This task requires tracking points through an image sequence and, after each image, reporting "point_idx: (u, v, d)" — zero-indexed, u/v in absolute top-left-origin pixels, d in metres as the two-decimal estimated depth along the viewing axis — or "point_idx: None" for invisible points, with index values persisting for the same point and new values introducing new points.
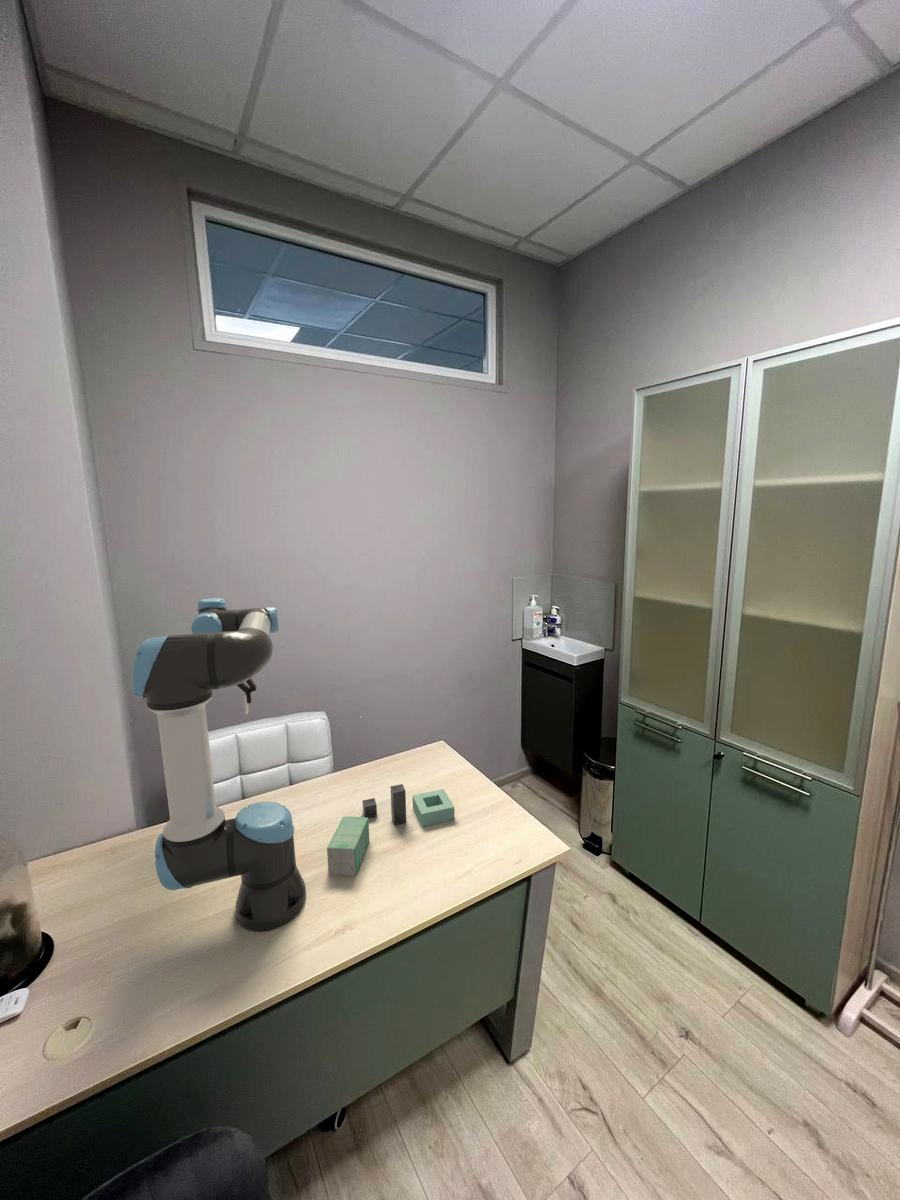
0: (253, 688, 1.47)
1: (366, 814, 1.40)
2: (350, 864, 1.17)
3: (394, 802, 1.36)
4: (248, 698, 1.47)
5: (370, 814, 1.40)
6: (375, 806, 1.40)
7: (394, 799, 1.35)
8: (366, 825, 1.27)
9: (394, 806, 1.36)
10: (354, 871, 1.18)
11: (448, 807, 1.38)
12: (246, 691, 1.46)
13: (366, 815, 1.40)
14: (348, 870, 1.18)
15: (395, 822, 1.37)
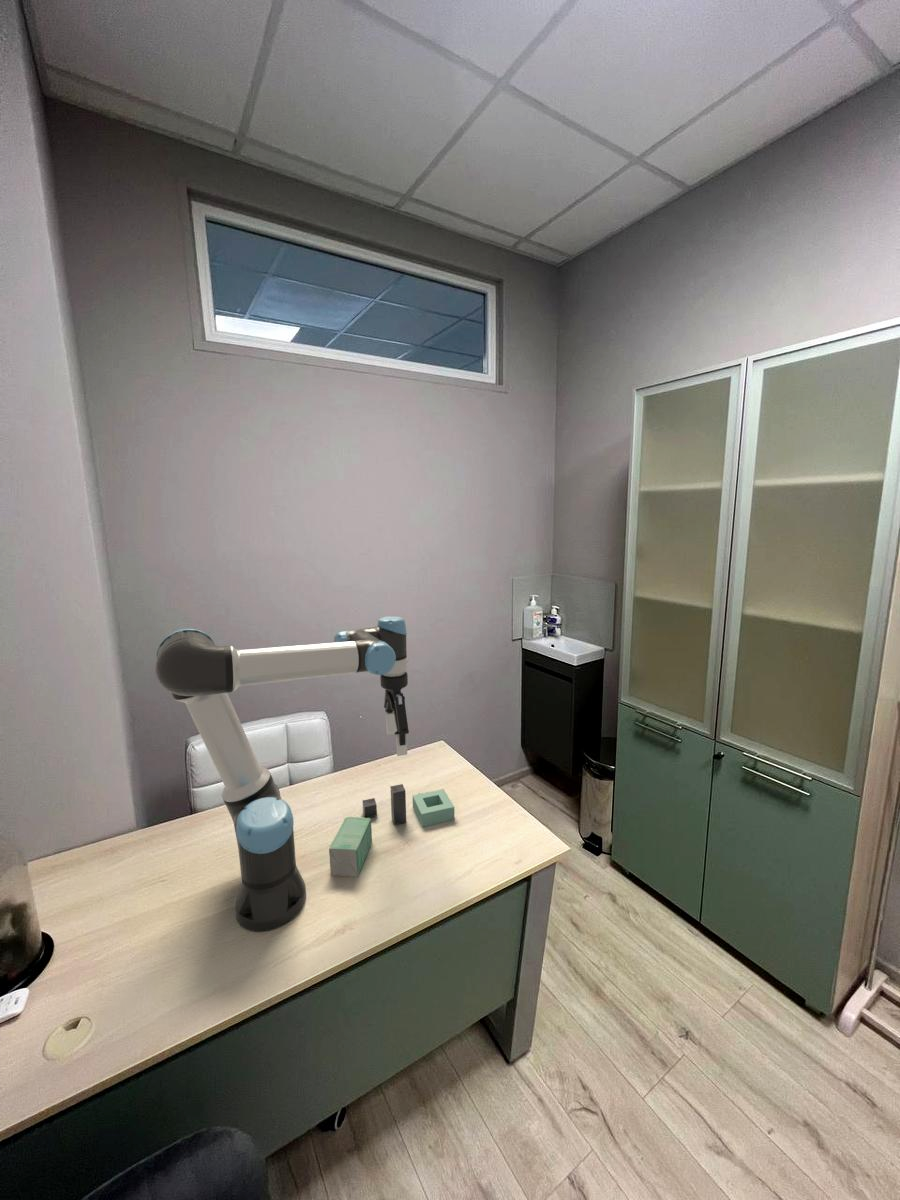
0: (398, 731, 1.24)
1: (366, 814, 1.40)
2: (352, 865, 1.17)
3: (394, 802, 1.36)
4: (399, 739, 1.27)
5: (370, 814, 1.40)
6: (375, 806, 1.40)
7: (394, 799, 1.35)
8: (369, 826, 1.27)
9: (394, 806, 1.36)
10: (356, 872, 1.17)
11: (448, 807, 1.38)
12: (397, 730, 1.26)
13: (366, 815, 1.40)
14: (350, 871, 1.17)
15: (395, 822, 1.37)
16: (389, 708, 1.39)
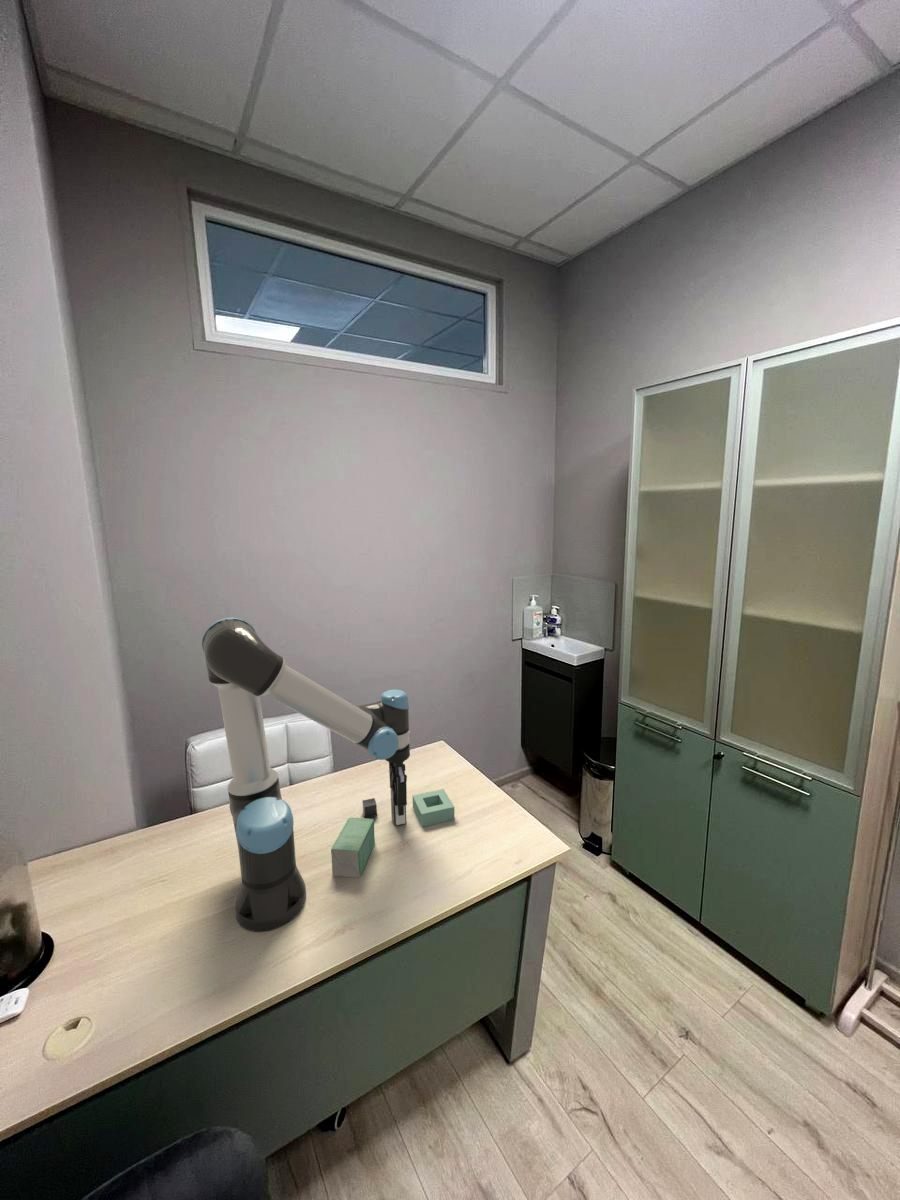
0: (397, 803, 1.32)
1: (366, 814, 1.40)
2: (354, 866, 1.17)
3: (394, 802, 1.36)
4: (398, 810, 1.35)
5: (370, 814, 1.40)
6: (375, 806, 1.40)
7: (394, 799, 1.35)
8: (371, 827, 1.26)
9: (394, 806, 1.36)
10: (358, 873, 1.17)
11: (448, 807, 1.38)
12: (396, 801, 1.34)
13: (366, 815, 1.40)
14: (351, 872, 1.17)
15: (395, 822, 1.37)
16: None
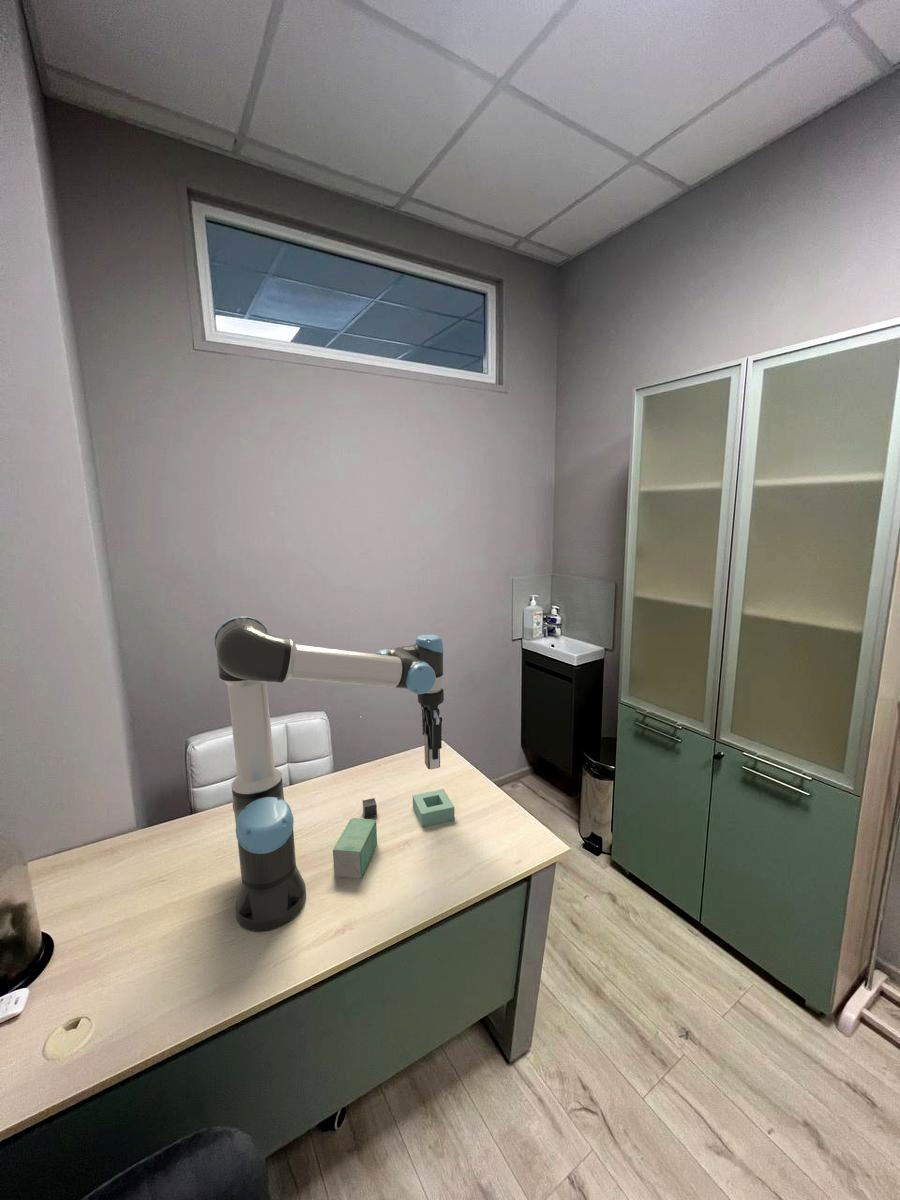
0: (432, 746, 1.33)
1: (366, 814, 1.40)
2: (355, 867, 1.16)
3: (428, 746, 1.36)
4: (432, 754, 1.36)
5: (370, 814, 1.40)
6: (375, 806, 1.40)
7: (428, 743, 1.36)
8: (373, 828, 1.26)
9: (428, 750, 1.37)
10: (359, 874, 1.17)
11: (448, 807, 1.38)
12: (430, 745, 1.35)
13: (366, 815, 1.40)
14: (353, 873, 1.17)
15: (429, 767, 1.38)
16: None
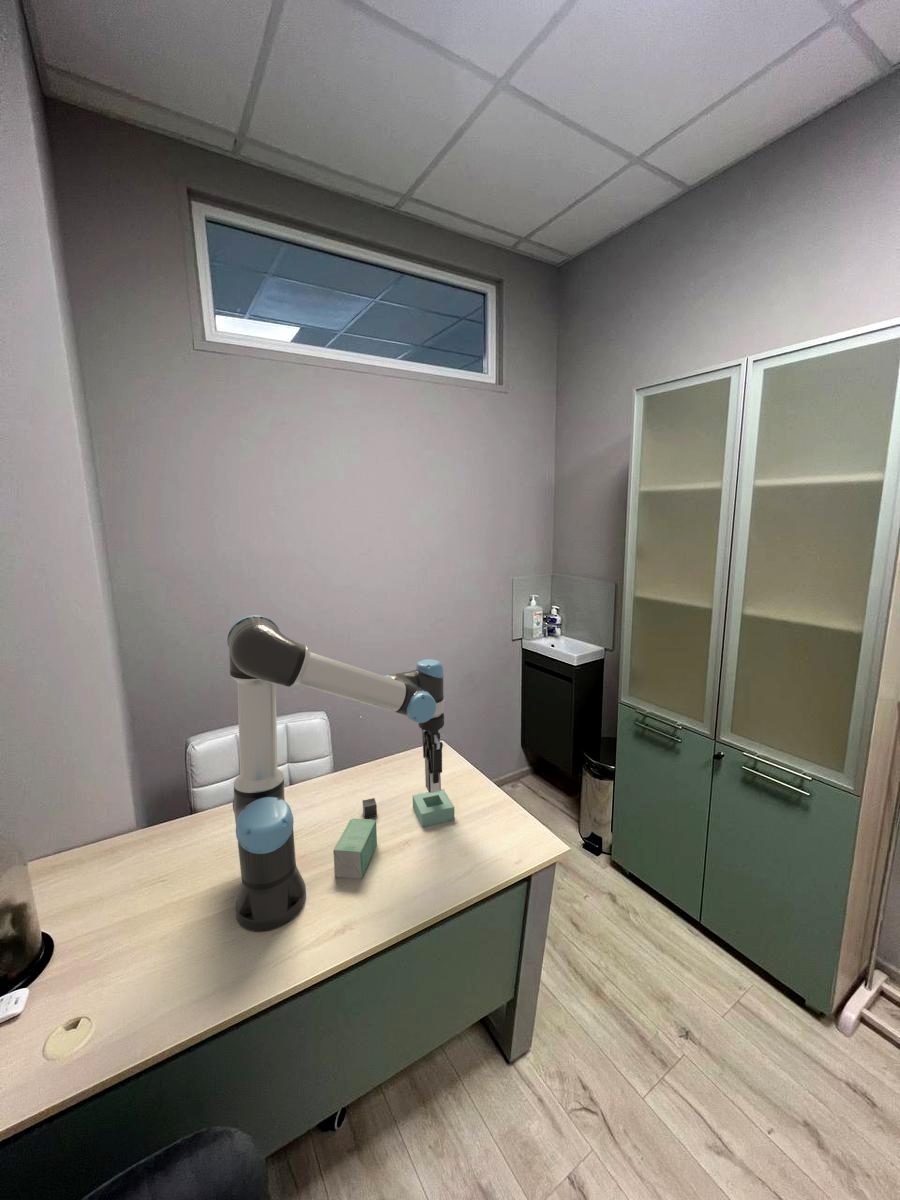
0: (433, 771, 1.35)
1: (366, 814, 1.40)
2: (356, 867, 1.16)
3: (429, 770, 1.38)
4: (433, 777, 1.37)
5: (370, 814, 1.40)
6: (375, 806, 1.40)
7: (429, 767, 1.38)
8: (373, 828, 1.26)
9: (429, 774, 1.38)
10: (360, 874, 1.16)
11: (448, 807, 1.38)
12: (431, 769, 1.37)
13: (366, 815, 1.40)
14: (354, 873, 1.17)
15: None
16: None
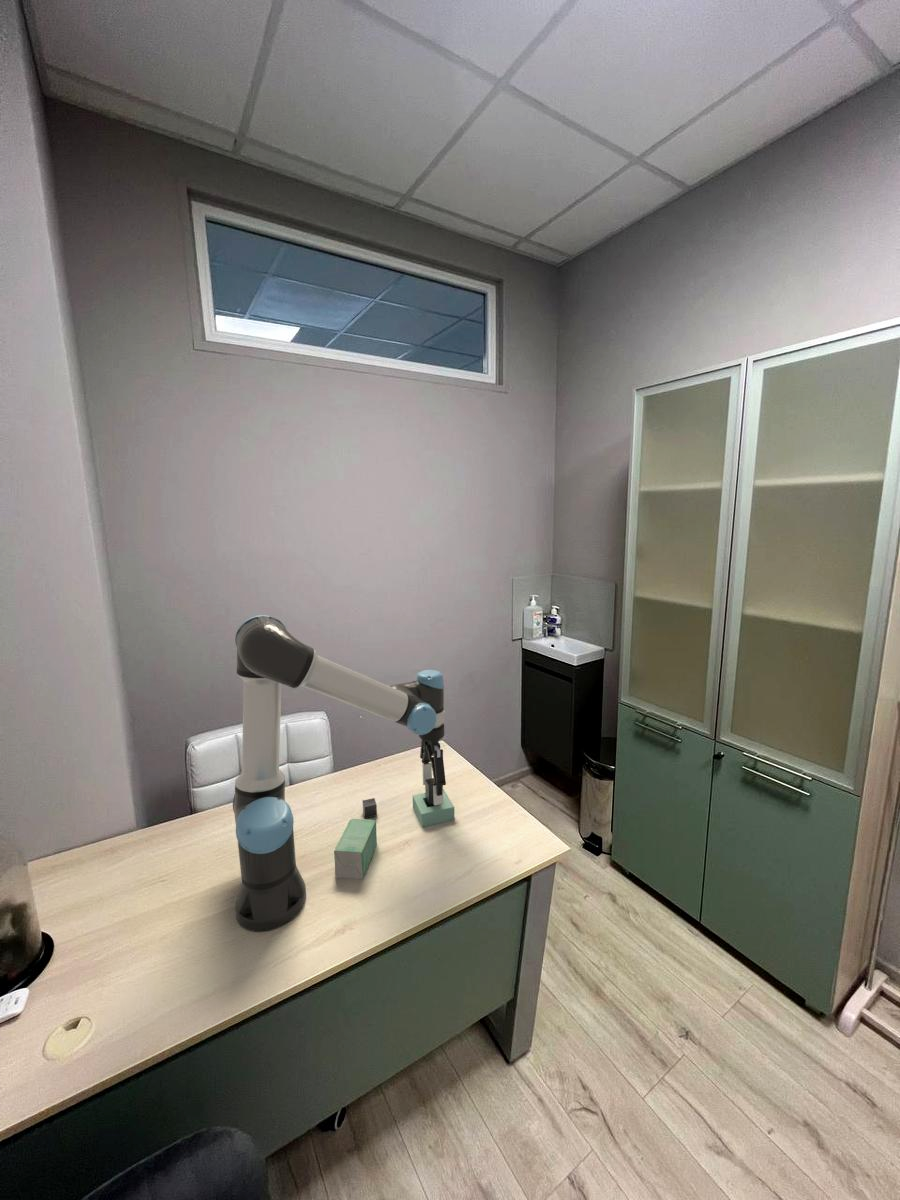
0: (436, 783, 1.32)
1: (366, 814, 1.40)
2: (357, 867, 1.16)
3: (429, 795, 1.39)
4: (436, 790, 1.34)
5: (370, 814, 1.40)
6: (375, 806, 1.40)
7: (429, 792, 1.39)
8: (373, 828, 1.26)
9: (429, 799, 1.39)
10: (361, 874, 1.16)
11: (448, 807, 1.38)
12: (434, 781, 1.34)
13: (366, 815, 1.40)
14: (355, 873, 1.17)
15: None
16: (426, 758, 1.44)
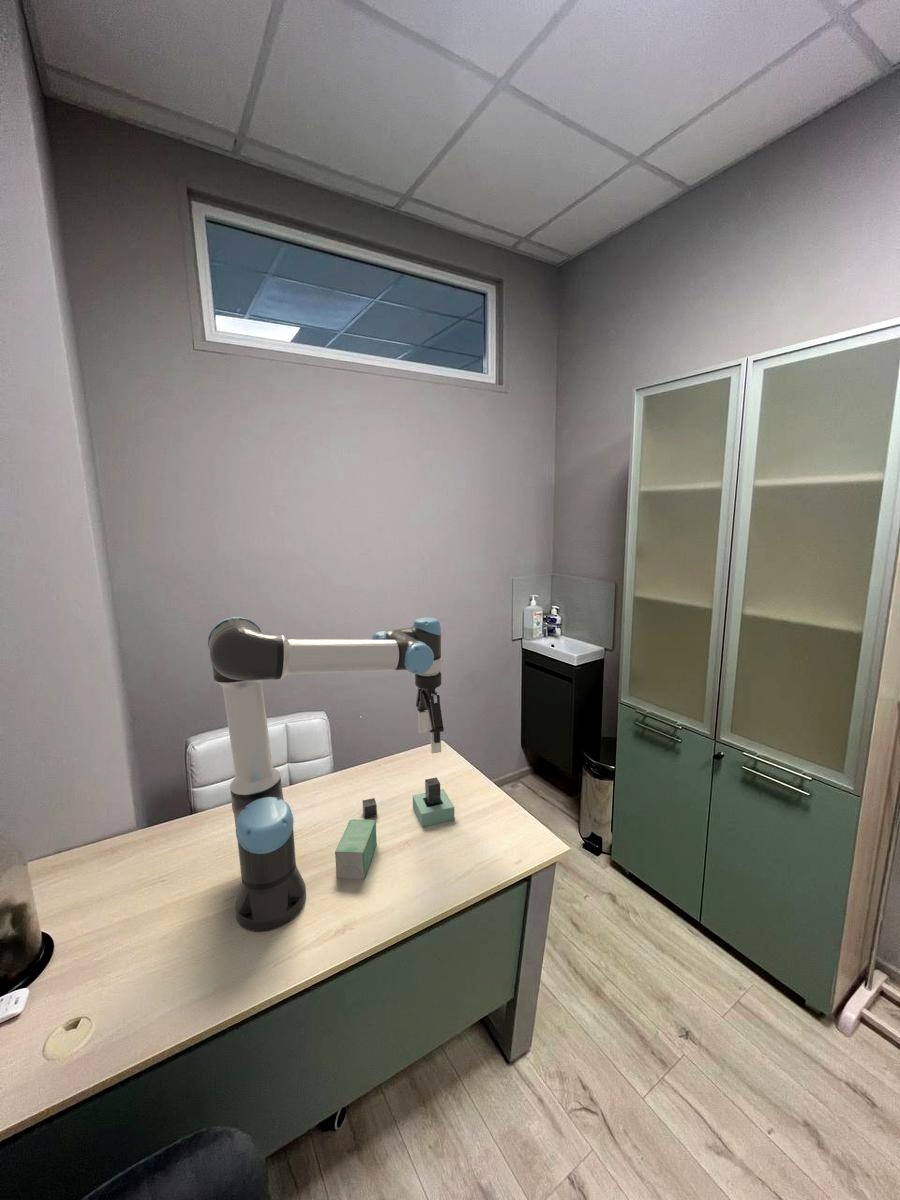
0: (434, 729, 1.28)
1: (366, 814, 1.40)
2: (358, 867, 1.16)
3: (429, 795, 1.39)
4: (434, 737, 1.30)
5: (370, 814, 1.40)
6: (375, 806, 1.40)
7: (429, 792, 1.39)
8: (374, 828, 1.26)
9: (429, 799, 1.39)
10: (362, 875, 1.16)
11: (448, 807, 1.38)
12: (432, 728, 1.30)
13: (366, 815, 1.40)
14: (356, 874, 1.16)
15: None
16: (421, 707, 1.43)
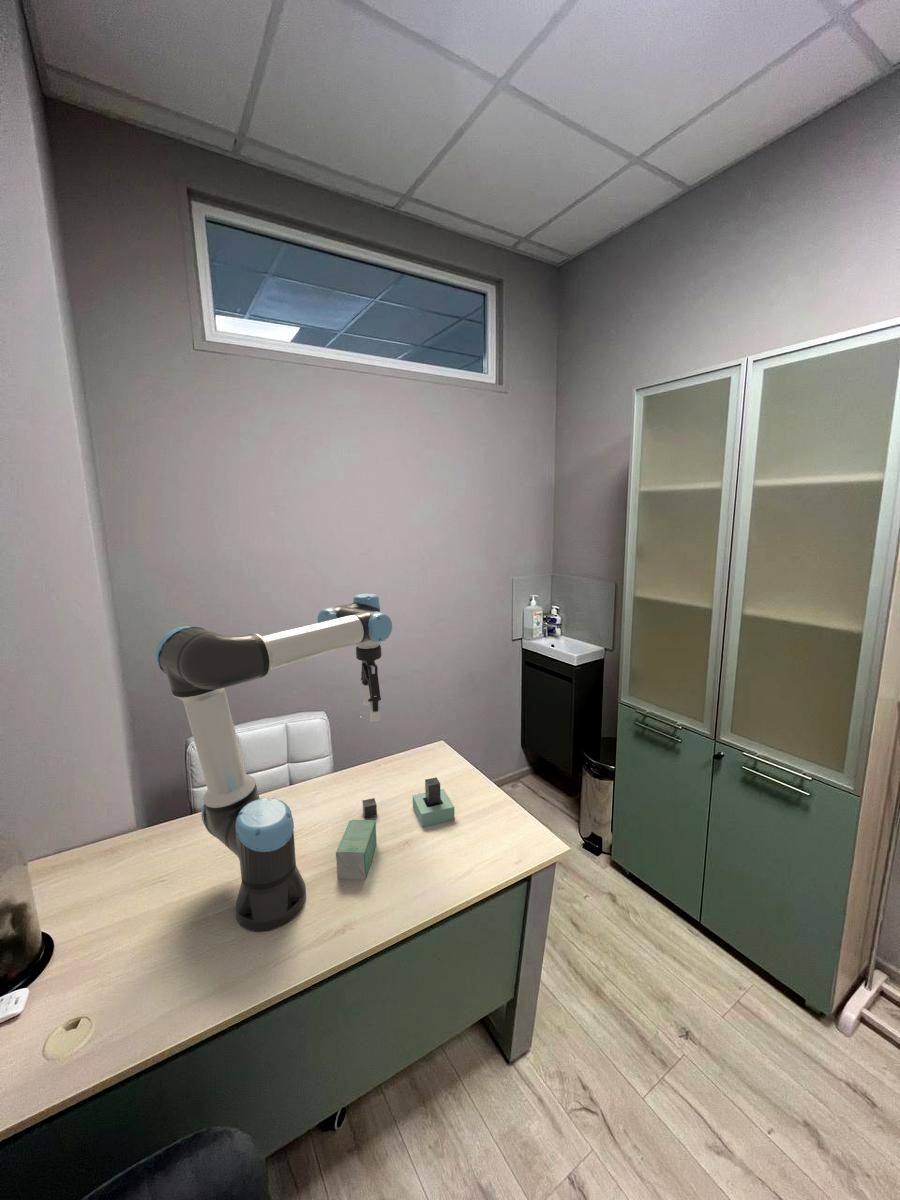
0: (371, 698, 1.35)
1: (366, 814, 1.40)
2: (360, 868, 1.16)
3: (429, 795, 1.39)
4: (372, 706, 1.38)
5: (370, 814, 1.40)
6: (375, 806, 1.40)
7: (429, 792, 1.39)
8: (374, 828, 1.26)
9: (429, 799, 1.39)
10: (364, 875, 1.16)
11: (448, 807, 1.38)
12: (370, 698, 1.37)
13: (366, 815, 1.40)
14: (357, 874, 1.16)
15: None
16: (365, 680, 1.50)
